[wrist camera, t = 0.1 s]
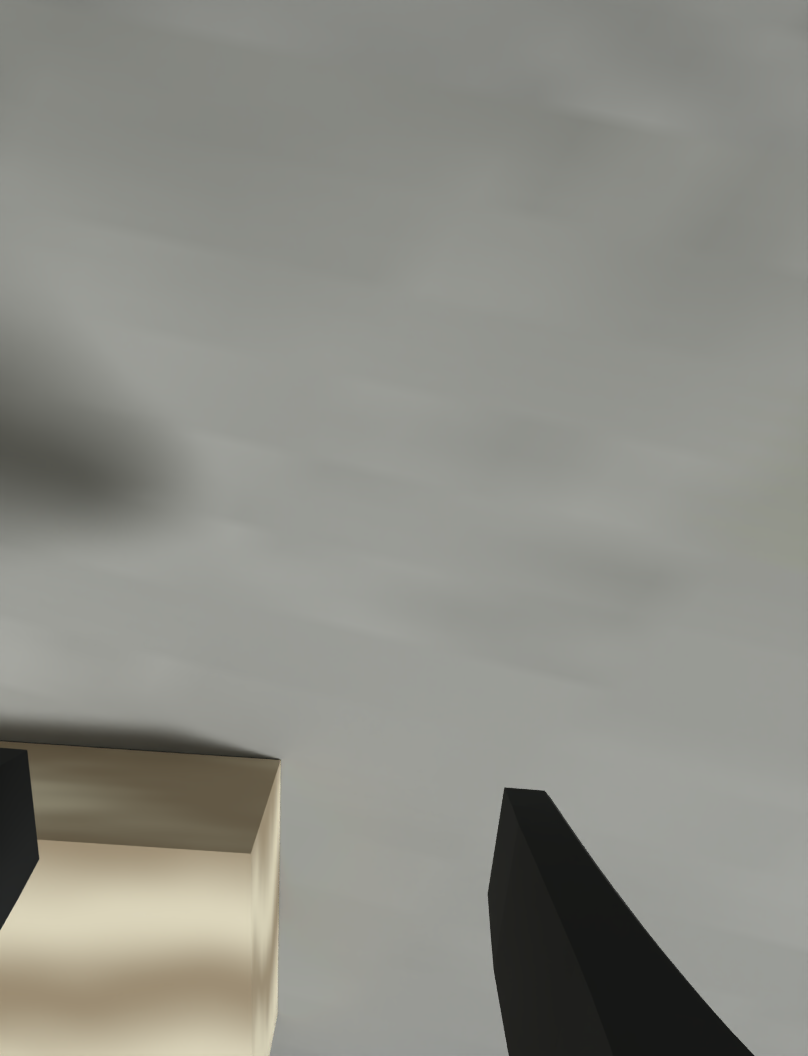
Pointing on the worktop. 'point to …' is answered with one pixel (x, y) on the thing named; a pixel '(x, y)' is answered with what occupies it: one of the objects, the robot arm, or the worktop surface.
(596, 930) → the robot arm
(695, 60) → the worktop surface
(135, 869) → the birch pedestal
